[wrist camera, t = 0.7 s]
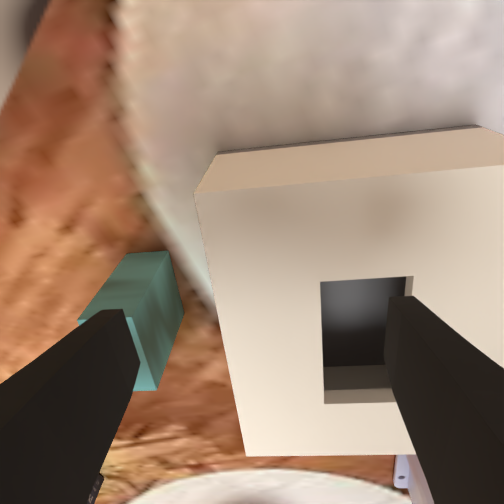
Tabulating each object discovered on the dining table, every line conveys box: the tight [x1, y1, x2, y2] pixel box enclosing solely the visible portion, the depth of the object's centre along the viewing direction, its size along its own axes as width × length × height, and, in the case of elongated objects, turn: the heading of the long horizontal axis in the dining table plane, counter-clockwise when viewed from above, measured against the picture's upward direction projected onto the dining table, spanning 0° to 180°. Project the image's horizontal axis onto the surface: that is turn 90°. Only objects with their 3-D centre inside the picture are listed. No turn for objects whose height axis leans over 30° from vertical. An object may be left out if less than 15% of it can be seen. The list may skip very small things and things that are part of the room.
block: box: [77, 251, 184, 391], centre depth 20 cm, size 4×2×6 cm, turn 7°
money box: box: [193, 125, 504, 456], centre depth 18 cm, size 15×12×6 cm
